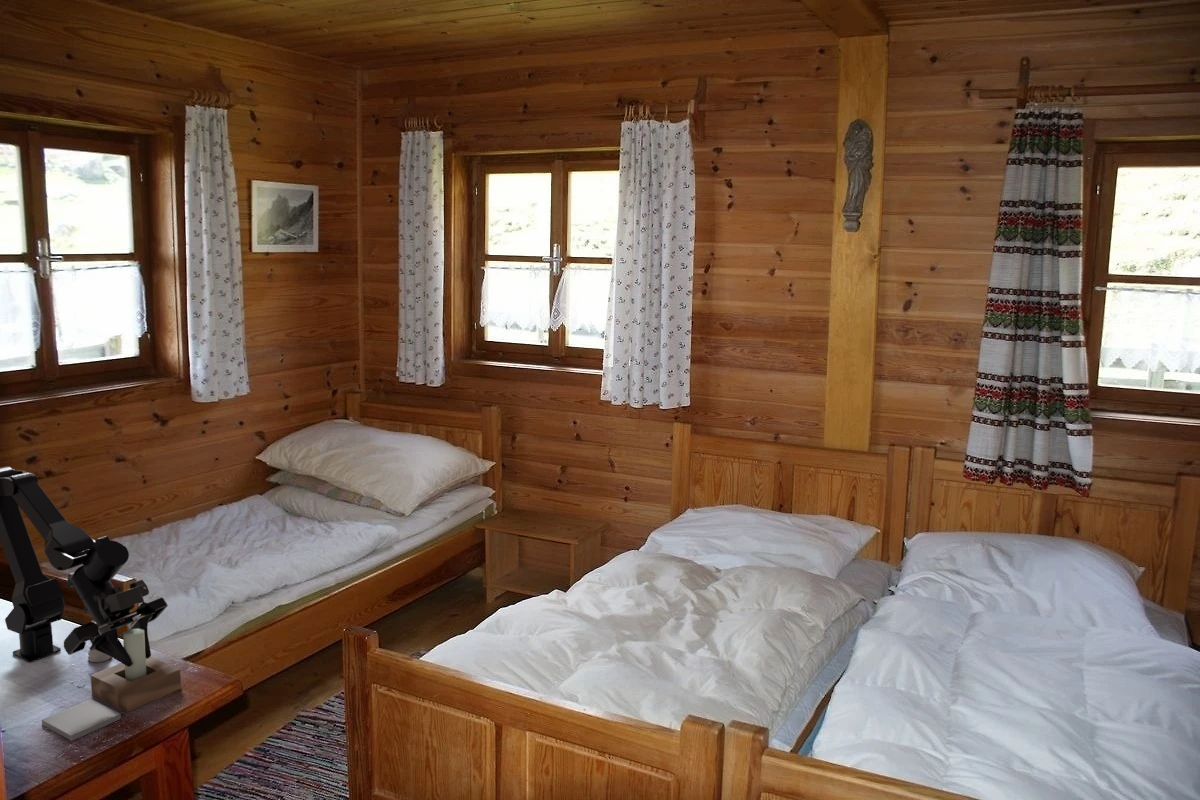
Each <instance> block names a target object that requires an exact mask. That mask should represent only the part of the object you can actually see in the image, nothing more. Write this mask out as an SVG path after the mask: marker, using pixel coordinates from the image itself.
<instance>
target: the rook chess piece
mask: <svg viewBox="0 0 1200 800" xmlns="http://www.w3.org/2000/svg"><path fill="white" fill-rule="evenodd" d="M90 622H93V623H96V622H95V620H91V621H90ZM87 655H88V657H87V659H88V660H89V661H90V662H91V663H95V662H97V663H96V664H98V663H103V661H104V662H106V661H109V660H110V659H111V658H112V657H110V656H109V655H106V654H104V653H102V652H100V651H98V650H90V649H89V650H88V651H87Z"/></svg>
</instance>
